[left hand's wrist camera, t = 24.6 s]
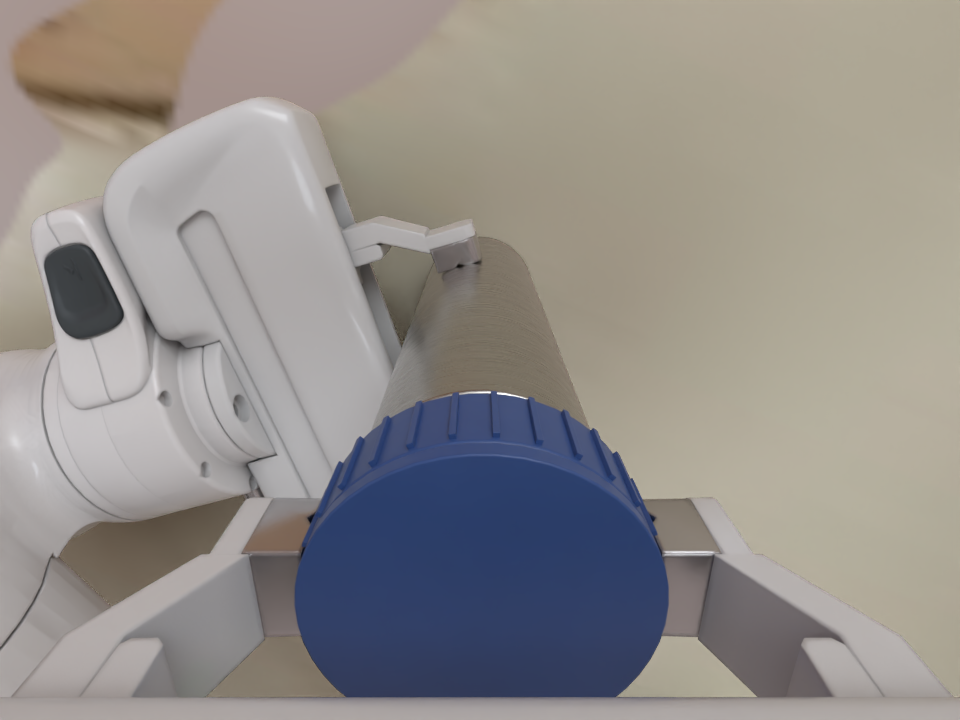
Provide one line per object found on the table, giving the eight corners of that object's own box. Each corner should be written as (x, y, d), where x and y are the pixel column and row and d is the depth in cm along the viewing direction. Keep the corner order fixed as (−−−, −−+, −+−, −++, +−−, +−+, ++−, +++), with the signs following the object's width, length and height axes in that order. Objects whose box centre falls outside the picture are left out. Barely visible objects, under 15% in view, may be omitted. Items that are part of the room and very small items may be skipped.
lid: (464, 317, 9) (461, 365, 7) (705, 518, 10) (755, 602, 9) (261, 542, 11) (213, 629, 9) (493, 688, 12) (496, 790, 10)
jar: (408, 267, 27) (267, 519, 9) (502, 217, 26) (556, 385, 8) (458, 354, 29) (423, 714, 11) (548, 310, 28) (677, 620, 10)
